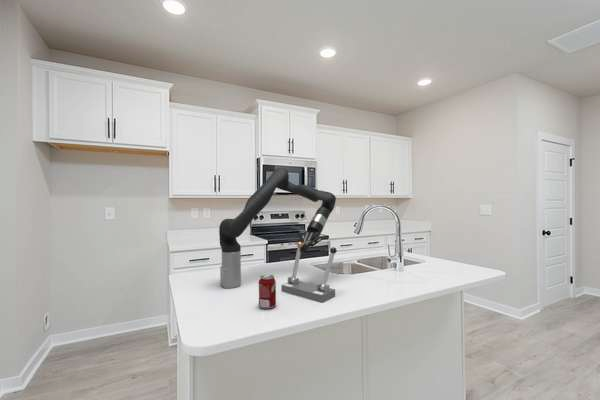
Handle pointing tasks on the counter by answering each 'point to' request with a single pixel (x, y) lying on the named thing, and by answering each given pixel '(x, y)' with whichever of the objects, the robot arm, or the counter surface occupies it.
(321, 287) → the black lever
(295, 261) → the copper lever
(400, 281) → the counter surface
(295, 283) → the switch bar
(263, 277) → the soda can
